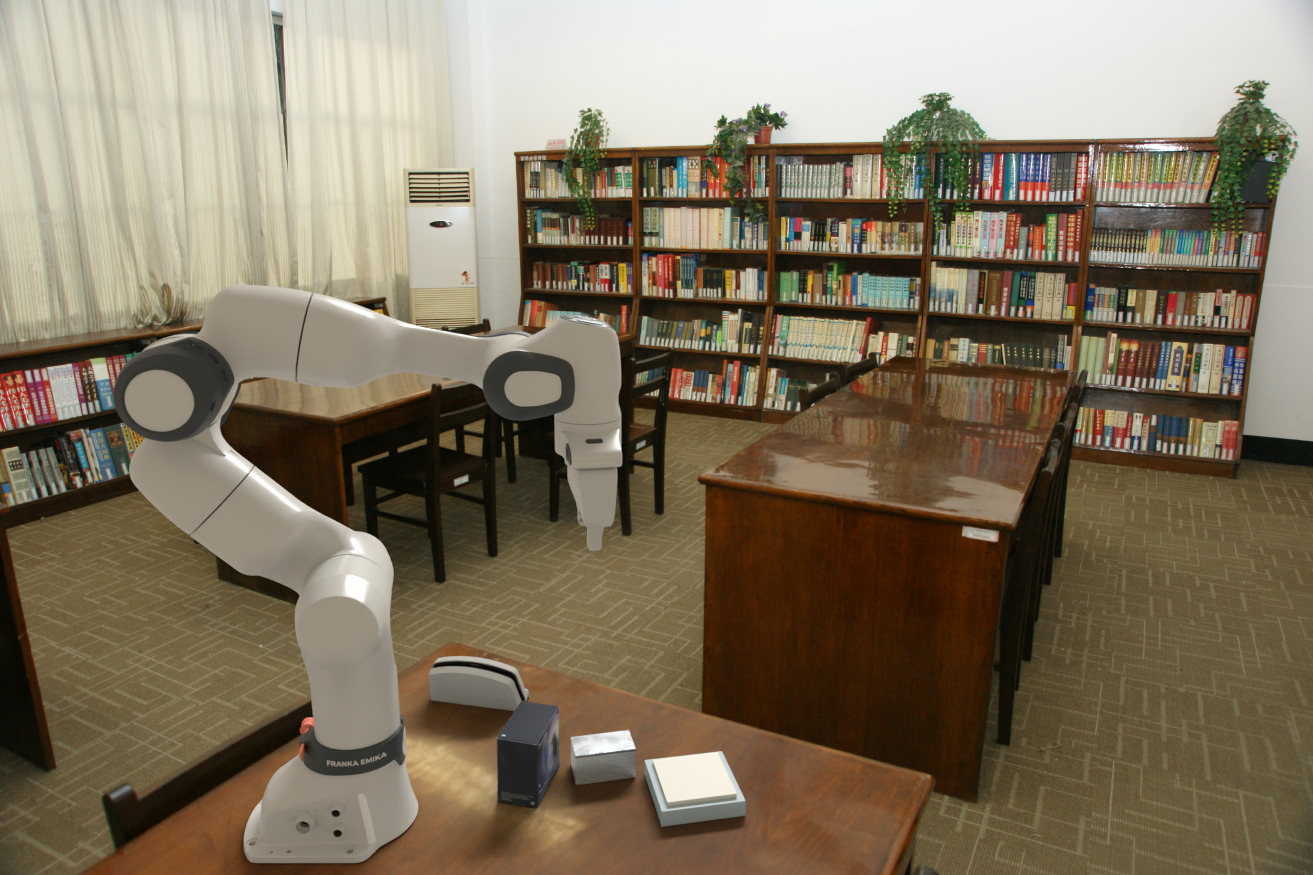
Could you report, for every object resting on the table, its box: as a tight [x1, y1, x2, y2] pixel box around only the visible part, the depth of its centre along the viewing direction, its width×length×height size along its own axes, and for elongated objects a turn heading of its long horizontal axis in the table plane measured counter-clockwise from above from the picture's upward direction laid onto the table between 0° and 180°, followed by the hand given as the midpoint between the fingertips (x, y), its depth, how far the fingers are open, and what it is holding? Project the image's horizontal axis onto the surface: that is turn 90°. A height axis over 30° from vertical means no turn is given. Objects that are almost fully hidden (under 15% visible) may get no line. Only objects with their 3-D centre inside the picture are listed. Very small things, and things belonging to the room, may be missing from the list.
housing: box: [570, 729, 637, 786], centre depth 136 cm, size 9×5×5 cm, turn 103°
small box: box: [496, 701, 560, 809], centre depth 132 cm, size 11×6×10 cm, turn 168°
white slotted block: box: [427, 655, 530, 712], centre depth 153 cm, size 17×5×10 cm, turn 78°
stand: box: [643, 750, 747, 828], centre depth 131 cm, size 12×12×3 cm
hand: (589, 536), depth 123 cm, fingers open, 8 cm apart
